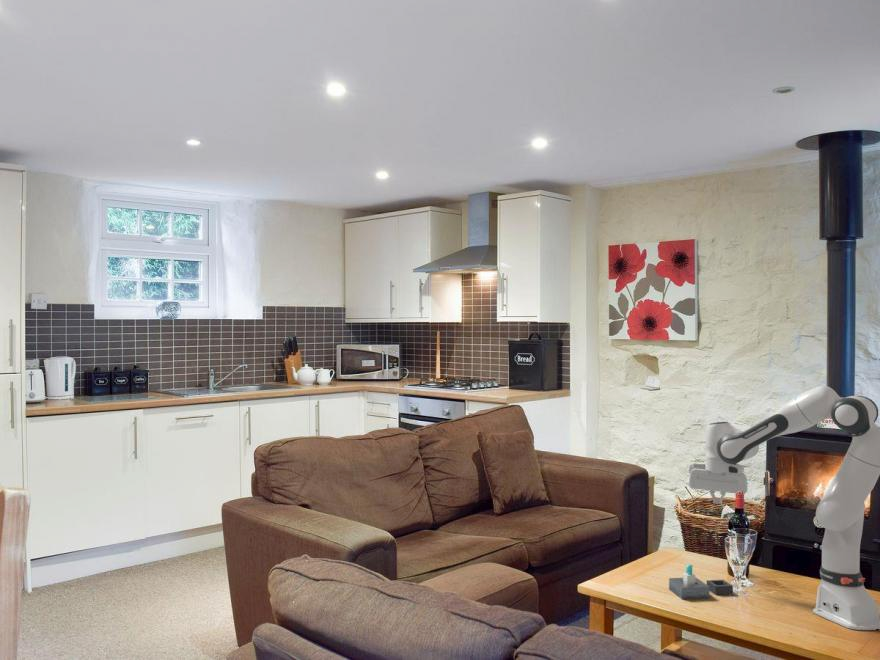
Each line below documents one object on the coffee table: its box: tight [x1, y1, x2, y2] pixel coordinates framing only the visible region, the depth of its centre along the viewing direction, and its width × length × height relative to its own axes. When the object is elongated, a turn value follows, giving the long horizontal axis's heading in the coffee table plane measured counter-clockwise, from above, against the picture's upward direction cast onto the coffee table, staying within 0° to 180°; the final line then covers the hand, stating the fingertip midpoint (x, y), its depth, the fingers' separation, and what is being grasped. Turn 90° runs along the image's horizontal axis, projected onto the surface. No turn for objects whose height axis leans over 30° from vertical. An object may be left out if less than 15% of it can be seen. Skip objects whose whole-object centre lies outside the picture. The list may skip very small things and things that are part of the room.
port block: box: [668, 576, 710, 600], centre depth 264 cm, size 10×10×4 cm
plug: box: [682, 564, 696, 585], centre depth 264 cm, size 3×3×10 cm
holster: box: [706, 579, 734, 596], centre depth 267 cm, size 6×6×3 cm
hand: (717, 503), depth 276 cm, fingers closed
